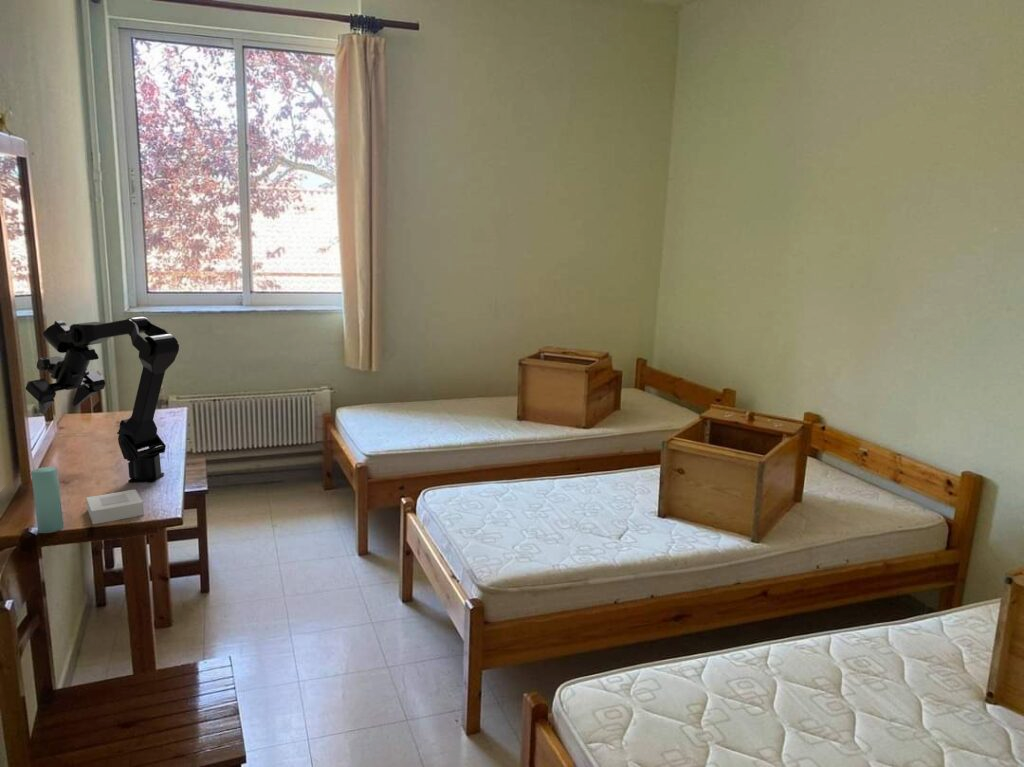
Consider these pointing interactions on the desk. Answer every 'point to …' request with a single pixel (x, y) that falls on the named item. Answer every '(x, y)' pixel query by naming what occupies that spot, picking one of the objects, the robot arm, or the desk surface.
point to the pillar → (47, 499)
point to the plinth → (114, 506)
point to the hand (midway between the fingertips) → (58, 409)
